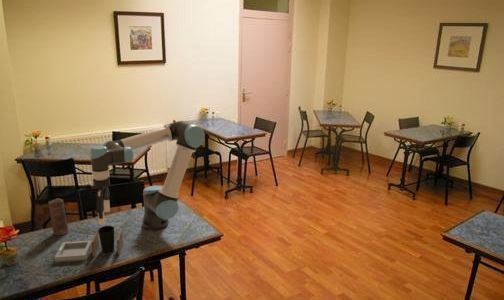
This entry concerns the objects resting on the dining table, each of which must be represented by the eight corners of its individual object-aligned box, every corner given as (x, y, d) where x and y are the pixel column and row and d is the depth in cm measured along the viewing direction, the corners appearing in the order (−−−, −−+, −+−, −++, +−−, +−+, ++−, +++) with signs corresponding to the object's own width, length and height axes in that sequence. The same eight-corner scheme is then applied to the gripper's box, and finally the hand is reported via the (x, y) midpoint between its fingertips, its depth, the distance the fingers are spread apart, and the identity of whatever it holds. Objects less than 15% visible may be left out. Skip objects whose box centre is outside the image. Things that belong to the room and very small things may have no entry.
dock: (92, 245, 196) (91, 239, 195) (86, 260, 183) (85, 254, 182) (63, 247, 193) (62, 241, 192) (55, 262, 180) (54, 256, 179)
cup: (110, 255, 187) (108, 233, 184) (97, 253, 189) (94, 232, 185) (119, 247, 195) (117, 226, 191) (105, 245, 196) (103, 224, 193)
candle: (55, 237, 202) (50, 204, 196) (51, 232, 207) (46, 199, 202) (70, 233, 207) (65, 200, 201) (66, 228, 212) (61, 196, 207)
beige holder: (122, 244, 198) (121, 230, 195) (120, 254, 188) (118, 240, 186) (97, 246, 195) (95, 232, 193) (92, 256, 186) (91, 242, 184)
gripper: (98, 169, 192) (101, 207, 198) (86, 187, 168) (91, 230, 174) (113, 169, 193) (116, 206, 199) (104, 187, 169) (107, 229, 175)
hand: (104, 217), depth 187 cm, fingers open, 13 cm apart
